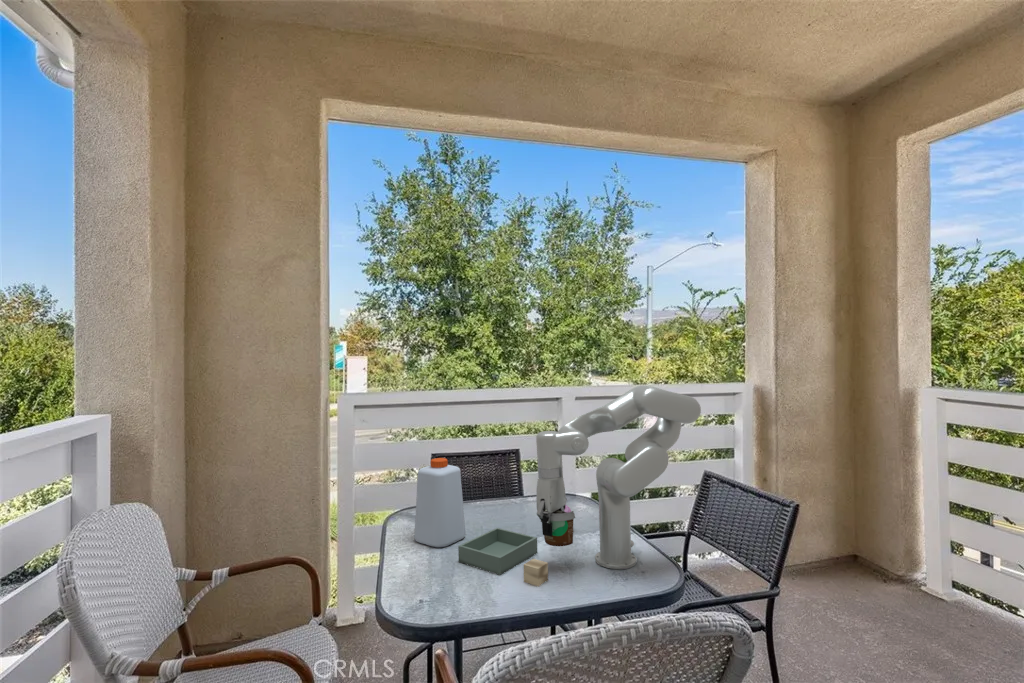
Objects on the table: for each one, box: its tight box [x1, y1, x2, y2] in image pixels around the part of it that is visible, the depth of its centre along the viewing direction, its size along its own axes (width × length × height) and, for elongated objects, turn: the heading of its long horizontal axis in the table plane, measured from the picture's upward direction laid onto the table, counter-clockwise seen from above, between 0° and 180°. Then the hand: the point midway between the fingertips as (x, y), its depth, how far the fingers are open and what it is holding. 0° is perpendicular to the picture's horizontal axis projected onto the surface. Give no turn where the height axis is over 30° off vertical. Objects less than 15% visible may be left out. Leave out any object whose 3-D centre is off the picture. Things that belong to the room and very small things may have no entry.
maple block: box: [523, 558, 549, 587], centre depth 145 cm, size 5×5×5 cm
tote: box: [458, 527, 538, 576], centre depth 162 cm, size 20×17×5 cm
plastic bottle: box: [413, 457, 466, 548], centre depth 179 cm, size 15×15×28 cm
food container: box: [543, 509, 576, 547], centre depth 154 cm, size 12×6×10 cm, turn 47°
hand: (553, 531), depth 154 cm, fingers closed on food container, 6 cm apart
